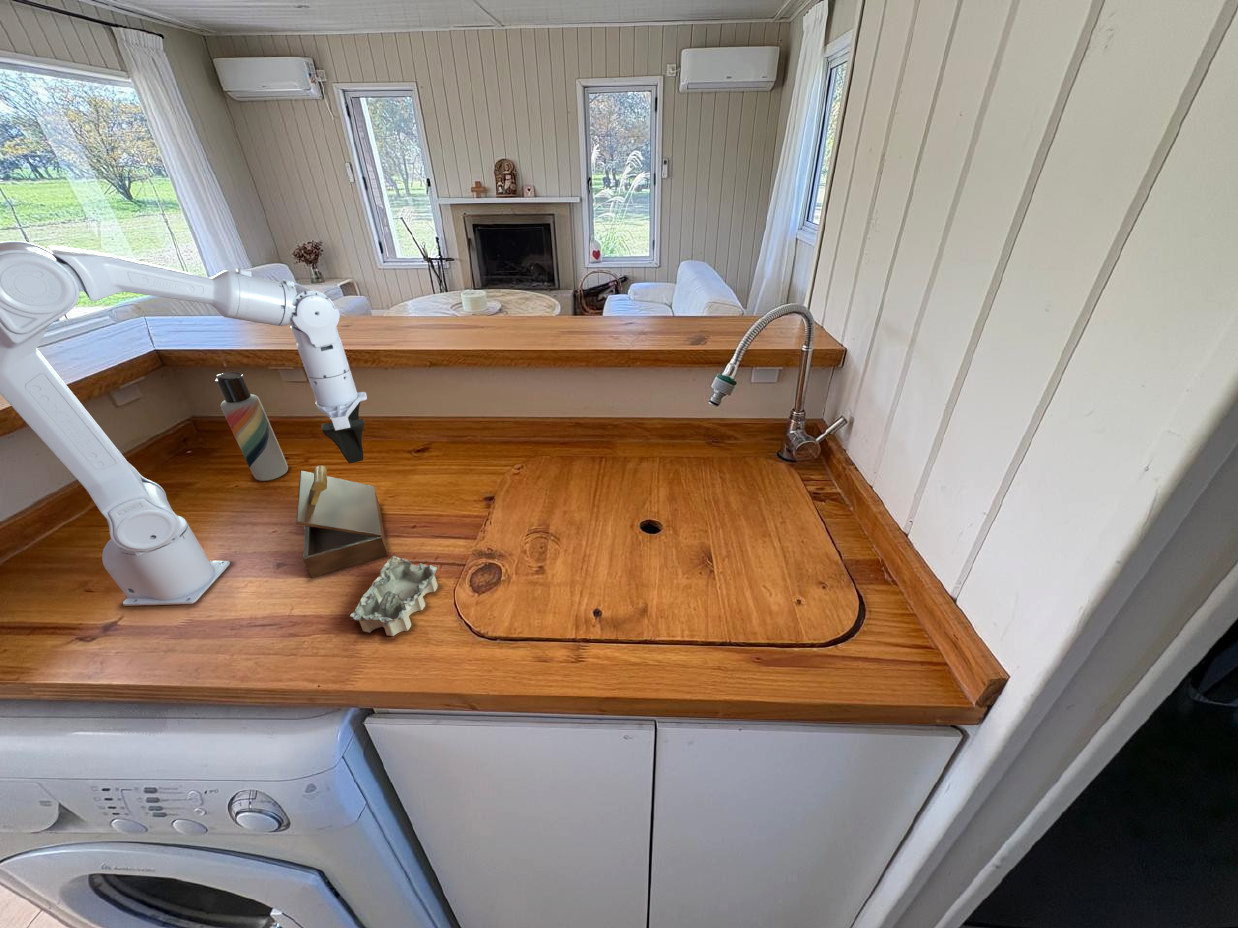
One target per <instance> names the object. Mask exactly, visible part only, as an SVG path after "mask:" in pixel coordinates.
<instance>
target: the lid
mask: <svg viewBox="0 0 1238 928" xmlns="http://www.w3.org/2000/svg"><path fill="white" fill-rule="evenodd" d="M298 480H299V481H298V495H297V510H296V521H295V522H296V523H295V524H296V525H297V526H304V527H305V526H311V527H317V528H323V529H330V530H336V531H343V532H349V533H356V534H362V535H369V536H375V537H381V535H382V534H381V527H380V521H379V514H378V508H377V501H376V496H377V494H376V495H375V493H376V488H375V485H371V484H366V483H361V482H357V481H352V480H347V479H343V478H338V477H335V476H334V477H333V476H328V468H327V467H326V466H325V465H316V466H315V467H314V470H313V472H310V471H305V470H300V472H299V479H298Z"/></svg>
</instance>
